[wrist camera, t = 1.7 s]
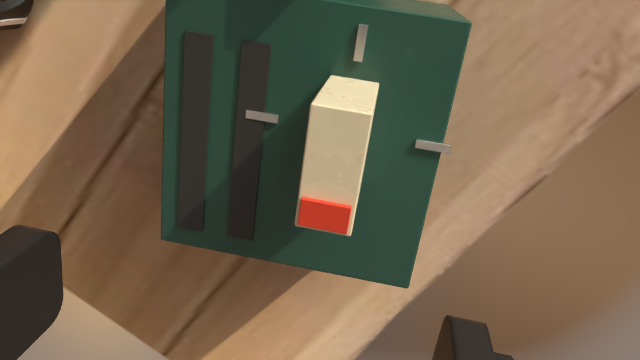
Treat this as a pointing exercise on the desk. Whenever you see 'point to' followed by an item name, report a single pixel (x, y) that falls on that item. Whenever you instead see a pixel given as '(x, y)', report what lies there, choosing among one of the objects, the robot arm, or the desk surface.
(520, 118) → the desk surface
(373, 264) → the toaster
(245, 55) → the toaster slots
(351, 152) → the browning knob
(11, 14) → the black computer mouse
